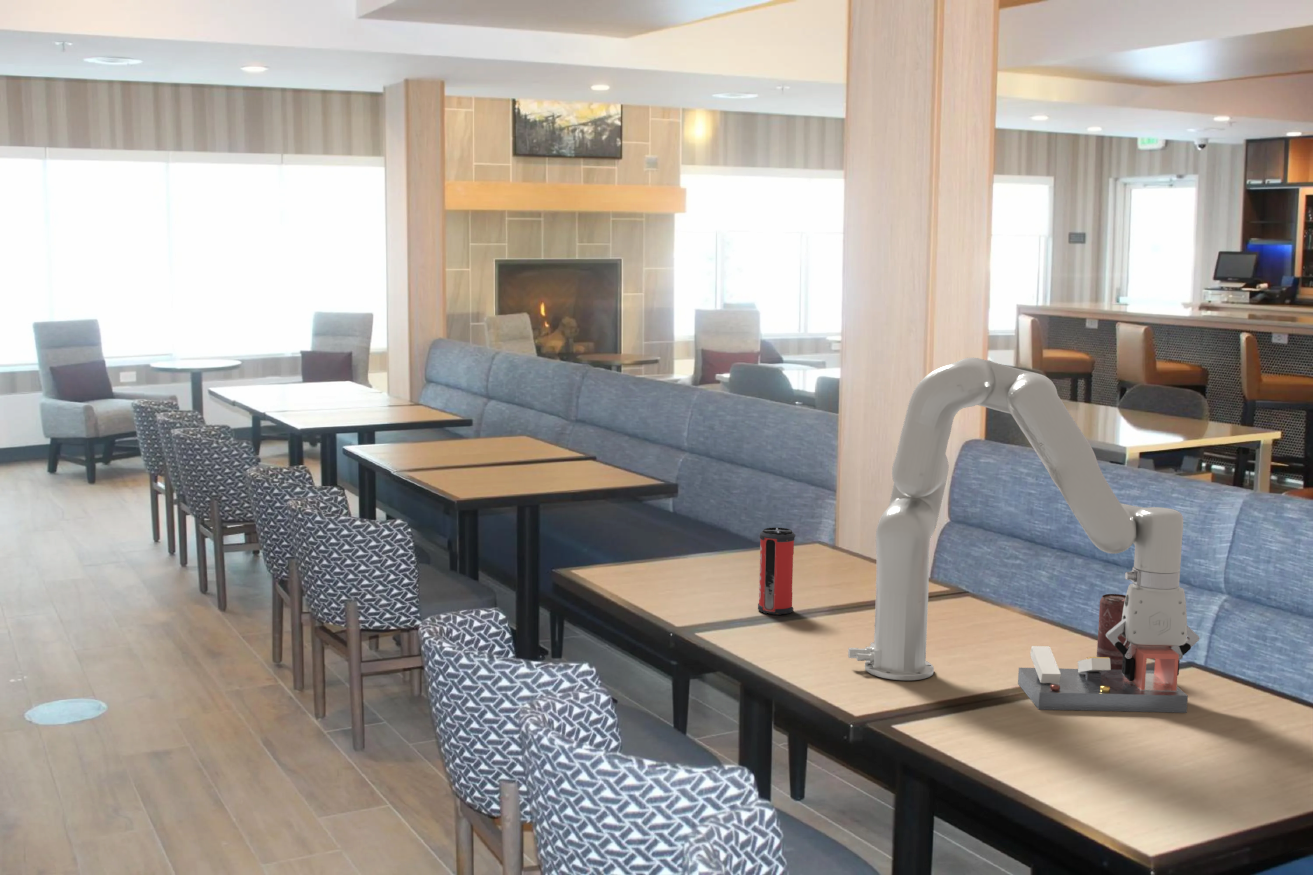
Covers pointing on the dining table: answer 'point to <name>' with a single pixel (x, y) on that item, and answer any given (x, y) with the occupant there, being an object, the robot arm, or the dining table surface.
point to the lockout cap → (1156, 665)
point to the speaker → (776, 571)
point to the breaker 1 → (1045, 664)
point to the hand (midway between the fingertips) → (1149, 678)
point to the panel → (1101, 692)
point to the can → (1107, 620)
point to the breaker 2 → (1094, 664)
